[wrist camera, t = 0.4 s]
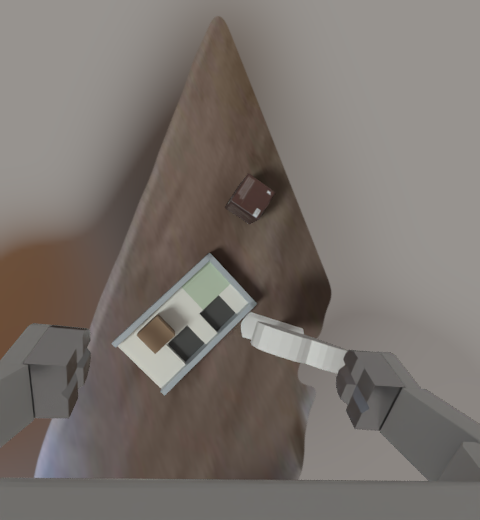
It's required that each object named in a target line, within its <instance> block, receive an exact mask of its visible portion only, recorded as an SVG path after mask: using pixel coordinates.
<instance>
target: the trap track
mask: <svg viewBox="0 0 480 520" xmlns="http://www.w3.org/2000/svg"><path fill="white" fill-rule="evenodd" d="M256 304H257V303H256V302H255V301H254V300H253V299H252V298H251V297H250V296H249V295H248V293H247V292H246V291H245V290H244V289H243V288H242V287H241V286H240V285H239V284H238V283H237V282H236V280H235V279H234V278H233V277H232V276H231V275H230V274H229V273H228V272H227V271H226V270H225V269H224V267H223V266H222V265H221V264H220V263H219V262H218V261H217V260H216V259H215V258H214V257H213V256H212V254H211V253H208V254H207V255H206V256H205V257H204V258H203V259H202V260H200V261H199V262H198V263H197V264H196V265H195V266H194V267H193V268H192V269H191V270H190V271H189V272H187V273H186V274H185V275H184V276H183V277H182V278H181V279H180V280H179V281H178V282H177V283H176V284H174V285H173V286H172V287H171V288H170V289H169V290H168V291H167V292H166V293H165V294H164V295H163V296H162V297H160V298H159V299H158V300H157V301H156V302H155V303H154V304H153V305H152V306H151V307H150V308H149V309H147V310H146V311H145V312H144V313H143V314H142V315H141V316H140V317H139V318H138V319H137V320H136V321H134V322H133V323H132V324H131V325H130V326H129V327H128V328H127V329H126V330H125V331H124V332H123V333H121V334H120V335H119V336H118V337H117V338H116V339H115V340H114V341H113V342H112V345H113V346H114V347H115V348H116V347H117V346H118V347H119V348H120V349H121V350H122V351H123V352H124V353H125V354H126V355H127V356H128V357H129V358H130V359H131V360H132V361H133V362H134V363H135V364H137V365H138V366H139V367H140V368H141V369H142V370H143V371H144V372H145V373H146V374H147V375H148V376H149V377H150V378H151V379H152V380H153V381H154V382H155V383H156V384H157V385H158V386H159V387H160V388H161V393H162V394H163V395H164V396H165V395H166V394H167V393H168V392H169V391H170V390H171V389H172V388H173V387H174V386H175V385H176V384H177V383H178V382H179V381H180V380H181V379H182V378H183V377H184V376H185V375H186V374H187V373H188V372H189V371H190V370H191V369H192V368H193V367H194V366H195V365H196V364H197V363H198V362H199V361H200V360H201V359H202V358H203V357H204V356H205V355H206V354H207V353H208V352H209V351H210V350H211V349H212V348H213V347H214V346H215V345H216V344H217V343H218V342H219V341H220V340H221V339H222V338H223V337H224V336H225V335H226V334H227V333H228V332H229V331H230V330H231V329H232V328H233V327H234V326H235V325H236V324H237V323H238V322H239V321H240V320H241V319H242V318H243V317H244V316H245V315H246V314H247V313H248V312H249V311H250V310H251V309H252V308H253V307H254V306H255V305H256ZM157 314H159V315H160V316H161V317H162V318H163V319H164V320H165V321H166V322H167V323H168V324H169V325H170V326H171V327H172V328H173V329H174V330H175V336H174V337H173V338H172V339H171V340H170V341H169V342H167V343H166V344H165V345H164V346H163V347H162V348H161V349H160V350H159V351H158V352H157V353H156V354H155V353H154V352H152V351H151V350H150V349H149V348H148V347H147V346H146V345H145V344H144V343H143V342H142V341H141V340H140V339H139V338H138V337H137V336H136V335H137V334H138V332H139V331H140V330H141V329H142V328H143V327H144V326H145V325H146V324H147V323H148V322H149V321H150V320H151V319H153V318H154V317H155V316H156V315H157Z"/></svg>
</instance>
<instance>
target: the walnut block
mask: <svg viewBox="0 0 480 520" xmlns="http://www.w3.org/2000/svg"><path fill="white" fill-rule="evenodd" d="M136 336H137V337H138V338H139V339H140V340H141V341H142V342H143V343H144V344H145V345H146V346H147V347H148V348H149V349H150V350H151V351H152V352H154V353H155V354H156V353H157V352H158V351H159V350H160V349H161V348H162V347H163V346H164V345H165V344H166V343H167V342H169V341H170V340H171V339H172V338H173V337H174V336H175V330H174V329H173V328H172V327H171V326H170V325H169V324H168V323H167V322H166V321H165V320H164V319H163V318H162V317H161V316H160V315H159V314H157V315H156V316H155V317H154V318H153V319H151V320H150V321H149V322H148V323H147V324H146V325H145V326H144V327H143V328H142V329H141V330H140V331H139V332H138V334H137V335H136Z"/></svg>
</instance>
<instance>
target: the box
mask: <svg viewBox="0 0 480 520" xmlns="http://www.w3.org/2000/svg"><path fill="white" fill-rule="evenodd" d="M274 195H275V191H273V190H272V189H270V188H269V187H267V186H266V185H264V184H263V183H262V182H260V181H259V180H257V179H256V178H255V177H253V176H252V175H250V174H247V176H246V177H245V178H244V180H243V181H242V182H241V183H240V185H239V186H238V188H237V189H236V191H235V192H234V194H233V195H232V197H231V198H230V200H229V201H228V203H227V204H226V206H225V208H226V209H227V210H229V211H230V212H232V213H233V214H235V215H236V216H238V217H239V218H241V219H242V220H244V221H245V222H247V223H248V224H251V223H253V222H255V221H257V220H259V219H260V217H261V215H262V214H263V212H264V211H265V209H266V207H267V206H268V204H269V202H270V201H271V199H272V198H273V196H274Z"/></svg>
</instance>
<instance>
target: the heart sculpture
mask: <svg viewBox="0 0 480 520" xmlns="http://www.w3.org/2000/svg"><path fill="white" fill-rule="evenodd" d="M241 332H242V337H244V338H248V339H251V344H252V345H253V346H254V347H256V348H257V349H260V350H262V351H265V352H267V353H270V354H273V355H276V356H279V357H282V358H285V359H289V360H292V361H295V362H300V363H306V364H308V365H311V366H314V367H317V368H320V369H323V370H326V371H329V372H333V373H337V374H338V371H339V369H340V368H342V367H343V366H344V365H345V363H344V360H343V358H344V356H345V354H346V352H347V351H348V350H346V349H343V348H341V347H338V346H335V345H333V344H330V343H327V342H324V341H321V340H318V339H316V338H313V337H310V336H307V335H304V331H303V328H299V327H296V326H293V325H290V324H287V323H284V322H280V321H277V320H274V319H271V318H268V317H265V316H261V315H258V314H255V313H252V312H250V313H249V314H248V315H247V316H246V317H245V318H244V319H243V321H242V323H241Z"/></svg>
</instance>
